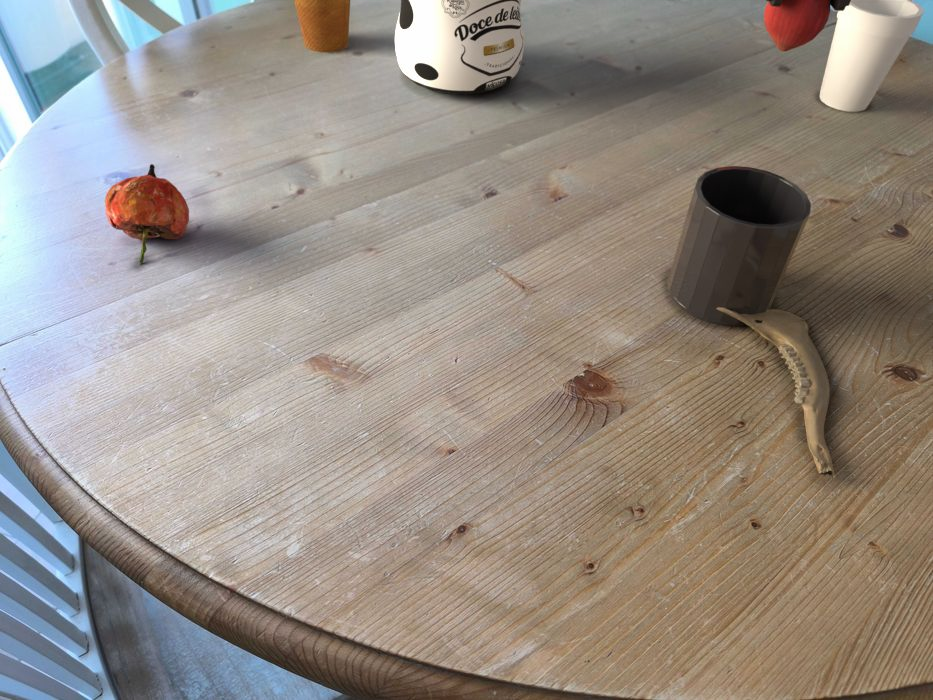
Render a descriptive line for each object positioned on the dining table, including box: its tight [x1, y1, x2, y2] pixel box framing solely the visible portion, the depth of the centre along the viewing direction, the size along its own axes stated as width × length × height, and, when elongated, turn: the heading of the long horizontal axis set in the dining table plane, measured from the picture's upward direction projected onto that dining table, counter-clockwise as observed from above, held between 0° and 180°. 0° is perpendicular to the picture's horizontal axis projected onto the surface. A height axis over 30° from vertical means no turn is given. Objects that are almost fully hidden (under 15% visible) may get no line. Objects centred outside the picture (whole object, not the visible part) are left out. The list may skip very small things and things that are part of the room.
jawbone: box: [716, 308, 835, 480], centre depth 63 cm, size 9×20×2 cm, turn 15°
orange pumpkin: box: [104, 163, 190, 266], centre depth 72 cm, size 7×7×10 cm
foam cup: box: [818, 0, 925, 113], centre depth 98 cm, size 10×9×13 cm
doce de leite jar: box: [394, 0, 525, 95], centre depth 98 cm, size 17×17×18 cm
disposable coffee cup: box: [294, 0, 351, 53], centre depth 106 cm, size 10×10×12 cm
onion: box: [763, 0, 831, 52], centre depth 72 cm, size 6×6×8 cm
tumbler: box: [667, 165, 812, 327], centre depth 68 cm, size 10×10×11 cm
